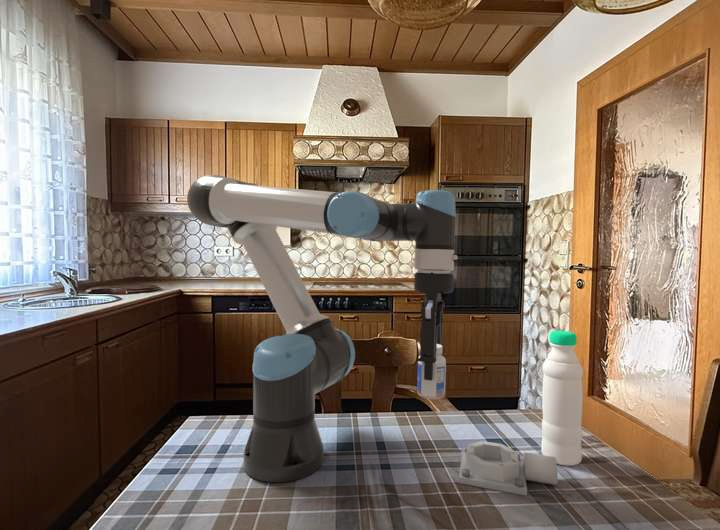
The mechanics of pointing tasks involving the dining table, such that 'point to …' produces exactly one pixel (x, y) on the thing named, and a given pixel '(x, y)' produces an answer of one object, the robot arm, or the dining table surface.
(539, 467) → the fitting
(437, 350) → the pill bottle
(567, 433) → the water bottle
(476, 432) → the dining table surface
